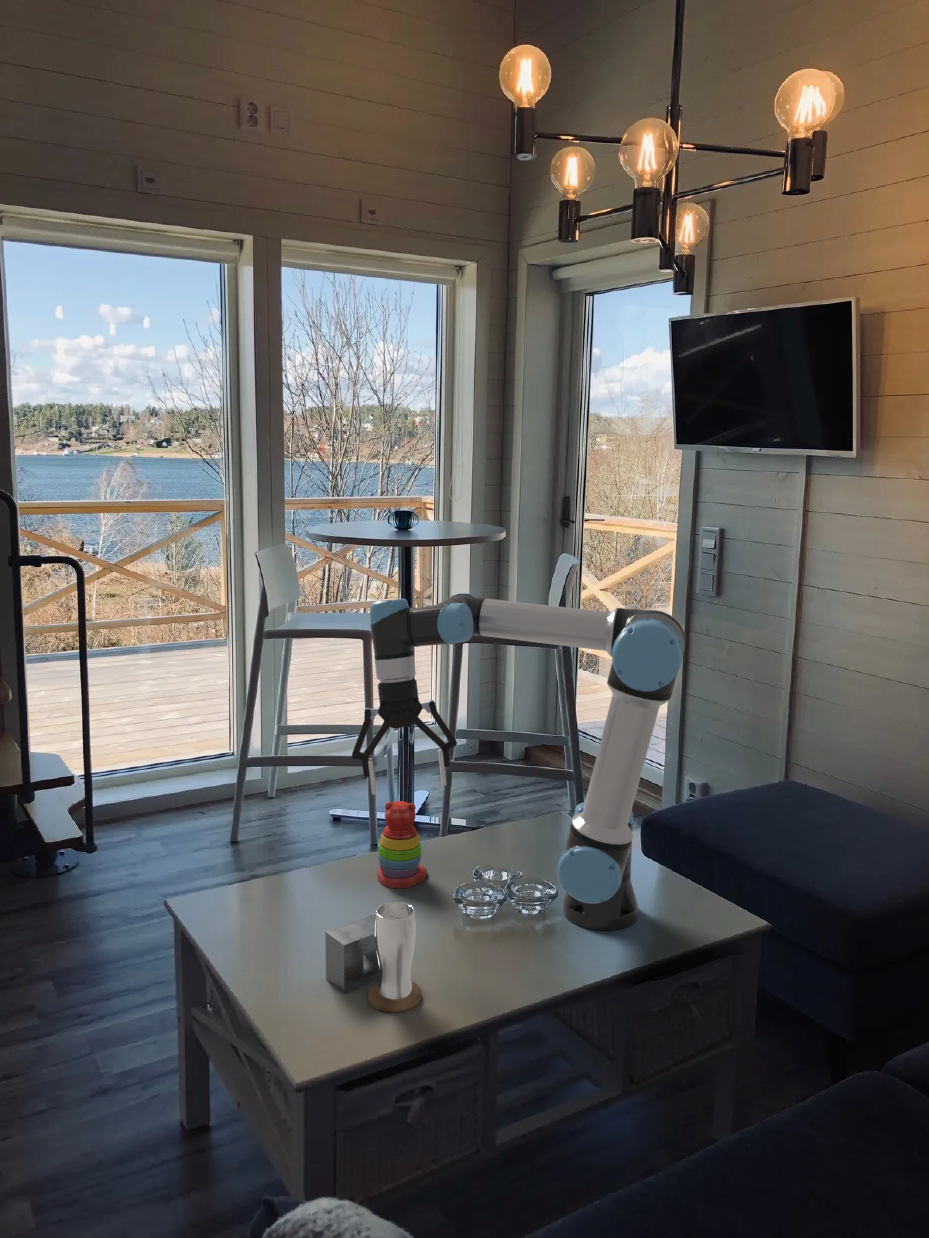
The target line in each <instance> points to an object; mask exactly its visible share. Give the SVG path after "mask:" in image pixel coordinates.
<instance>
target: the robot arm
mask: <svg viewBox="0 0 929 1238" xmlns="http://www.w3.org/2000/svg"><path fill="white" fill-rule="evenodd" d="M369 615H370V616H369V617H370V624H369V627H370V631H371V632H370V633H371V639H372V644H373V653H374V664H375V665H374V667H375V673H376V674H375V675H376V679H377V681H379V682H378V684H377V692H378V699H379V701H378V702H379V707H378V708H370V707H366V708H365V709H364V712H363V713H364V719H363V722H362V726H361V728H360V731H359V733H358V736H357V739H356V742H355V745H354V747H353V750H352V754H351V758H352V759H354V760H359V761H360V762H361V763H362V771H363V776H364V778H369V779H370V790H371V795H372V796H373V795H376V794H377V790H376V789H377V787H376V780H375V773H374V763H373V758H370V757H371V756H372V753H373V752H374V750H375V749H376V748H377V747H378V744H379V743H380V742H381V740H382V738H383V737H384V735H385V734H386V733H387V731H388V730H389V729H390V728H391V729H394V730H398V729H401V728H411V727H412V726H414V725H415V726H416V727H417V728H418V729H420V731H422V732H423V733H424V734H425V735H426V736H427V737H428V738H429V739H431V740H432V741H433V742H434V744H436V745H437V746H438V747H439V748H440V749H438V750H437V753H438V762H439V763H438V764H439V771H440V778H441V779H440V780H441V785H442V786H447V777H446V769H445V768H450V766H451V762H450V754H449V753H450V752H449V751H450V749H452V748H453V747H456V746H457V745H458V743H457V739H456V738H455V737H454V735H453V733H452V732H451V730H450V729H449V727H448V726H447V724H446V723H445V721H444V720H443V718H442V717H441V715H440V713H439V712H438V710H437V705H436V702H435V700H433V699H430V700H429V701H426V702H422V703H421V702H420V700H419V693H418V691H419V690H418V683H417V680H416V678H414V677H415V676H416V675H417V674H416V673H417V672H416V664H415V656H414V655H415V654H414V648H415V647H416V648H418V647H425V646H427V647H428V646H437V645H438V646H440V645H456V644H459V643H465V642H468V641H470V640H471V639H472V636H480V637H481V636H483V637H490V638H491V637H492V638H499V639H507V640H515V641H521V642H523V641H524V642H530V643H531V642H532V643H538V644H540V643H541V644H548V645H557V646H562V647H563V646H565V647H571V648H580V649H588V650H594V651H604V652H606V653H608V655H609V656H610V657H611V664H610V665H611V667H610V670H609V674H608V677H607V680H606V681H607V682H606V684H607V686H608V687H609V689H610V692H611V693H612V696H611V700H610V703H609V708H608V712H607V716H606V719H605V724H604V727H603V731H602V734H601V738H600V742H599V747H598V750H597V753H596V757H595V762H594V766H593V769H592V774H591V778H590V782H589V784H588V785H589V786H588V790H587V792H586V797H585V800H584V801H583V802H581V803H579V804H577V805H576V807H575V808H574V814H573V817H572V819H571V822H570V825H569V826H570V827H569V830H568V834H567V838H566V842H565V846H564V849H563V852H562V855H561V856H560V857H559V860H558V862H557V877H558V881H559V883H560V885H561V886H562V888H563V889H564V891H565V894H564V897H563V901H562V912H563V914H564V916H565V917H566V919H568V921H570V922H571V923H573V924H575V925H577V926H580V927H583V928H587V929H590V930H599V931H614V930H615V931H616V930H620V929H625V928H627V927H629V926H631V925H633V924H634V923H636V921H637V919H638V918H639V917H638V915H639V904H638V901H637V896H636V894H635V891H634V887H633V883H632V880H631V876H632V869H631V868H632V851H633V850H632V849H633V839H634V834H633V828H634V824H635V822H634V813H633V810H632V809H633V806H634V802H635V799H636V795H637V792H638V789H639V788H638V787H639V784H640V781H641V776H642V772H643V769H644V765H645V762H646V759H647V754H648V752H649V751H648V750H649V746H650V743H651V739H652V735H653V732H654V728H655V725H656V721H657V717H658V713H659V709H660V707H661V706H662V705H664V704H666V703H668V702H670V701H671V699H672V694H673V691H674V687H675V685H676V684H675V683H676V680H677V676H678V673H679V671H680V669H681V667H682V666H681V665H682V662H683V655H684V652H685V650H686V640H687V639H686V633H685V631H684V629H683V627H682V624H681V623H680V622H679V621H678V620H677V619H676V618H675V617H674V616H672V615H671V614H669V613H667V612H665V611H662V610H657V609H636V608H624V607H615V608H614V609H613V610H611V611H601V610H595V609H594V610H592V609H585V608H575V607H567V606H566V607H565V606H557V605H550V604H549V605H547V604H538V603H530V602H528V603H527V602H521V601H520V602H519V601H512V600H503V599H495V598H493V599H492V598H482V597H476V596H475V595H473V594H471V593H465V592H464V593H457V594H454V595H452V596H451V597H449V598H447V599H445V600H444V601H441V602H439V603H436V604H434V605H428V606H426V605H425V606H420V607H410V606H409V602H408V600H407V599H406V598H396V599H386V600H385V599H384V600H379V601H374V602H372V603H371V604H370V606H369ZM422 710H424V711H426V713H428V714H431V716H432V718H433V719H434V721H435V722H436V724H437V725H438V727H439V729H440V730H441V731H442V733H443V734H444V736H445V737H446V738H445V739H447V741H444V740H443V739H442V738H441V737H440V736H439V735H438V734H437V733H435V732H434V731H433V730H432V728H430V727H429V726H428V725H427V724H426V723H425V722H424V721H423V720H422V719H421V718H420V717H419V716H420V714H421V712H422ZM376 716H379V717H380V718H381V719H382V720H383V722H382V724H381V725H380V727H379V729H378V730H377V732H376V733H375V734H374V736H373V738H372V739H371V740H370V742H369V744H368V745H367V747H366V748H365V750H364V751H363V752H362V751H361V750H362V747H363V744H364V742H365V739H366V736H367V733H368V730H369V727H370V725H371V721H373V720H375V718H376Z"/></svg>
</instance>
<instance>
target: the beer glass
mask: <svg viewBox="0 0 929 1238" xmlns="http://www.w3.org/2000/svg"><path fill="white" fill-rule="evenodd" d="M415 912H416V910H415V907H414V906H413V905H411V904H409V903H407V902H402V901H391V902H385V903H382V904H380V905H379V906H378V907H377V908H376V909H375V914H376V919H375V946H376V952H377V958H378V963H379V969H380V978H379V980H378V982H379V984H378V990H377V992H378V995H379V997H381V998H382V999H384V1000H386V1001H392V1002H397V1001H402V1000H405V999H407V998H409V997H410V996H411V995H412V993H413V986H412V982H413V981H412V973H411V972H412V965H413V964H412V963H413V958H414V954H415V953H414V952H415V949H416V948H415V947H416V937H417V933H416V932H417V929H416V913H415Z"/></svg>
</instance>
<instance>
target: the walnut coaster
mask: <svg viewBox="0 0 929 1238" xmlns="http://www.w3.org/2000/svg"><path fill="white" fill-rule="evenodd" d="M378 984H379V981H377V982H375V983H373V985H371V986H370V987H369V989H368V992H367V993H368V995H367V997H368V998H367V999H368V1003H369V1004H370V1006H371V1007H372V1008H374V1009H376V1010H377V1011H380V1012H385V1013H391V1014H392V1013H393V1014H396V1013H402V1012H407V1011H410V1010H412V1009H413V1008H415V1007H416V1006H418V1005H419V1004H420V1001H421V1000H422V999H421V998H422V993H421V992H422V991H421V988H420V986H419V985H418V984H417V983H415V982H414V981H412V986H413V993H412V995H411V996H410V997H409V998H407V999H405V1000H402V1001H397V1002H392V1001H386V1000H384V999H382V998H381V997H379V995H378V992H377V990H378Z"/></svg>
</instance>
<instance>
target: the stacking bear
mask: <svg viewBox="0 0 929 1238" xmlns="http://www.w3.org/2000/svg"><path fill="white" fill-rule="evenodd" d="M416 807H417V806H416V805H415V804H414V803H413V802H407V801H402V800H397V801H393V802H391V801H388V802H386V804H385V805H384V809H385V812H384V820H385V823H386V826H385V827H384V828H383V829H382V833H381V834H380V839H379V843H378V847H377V848H378V850H377V856H378V862H379V867H378V870H377V874H376V875H377V879H378V881H379V883H381V885H383V886H384V887H387V888H391V889H392V888H393V889H407V888H411V887H413V886H416V885H418V884H420V883H421V882H422V881H423V880H425V878H426V877H427V874H428V870H427V867H425V866H424V865H421V864H420V862H421V859H422V845H421V842H420V841H421V840H420V835H419V833H418V830H417V829H416V827H415V826H414V824H415V820H416Z"/></svg>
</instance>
